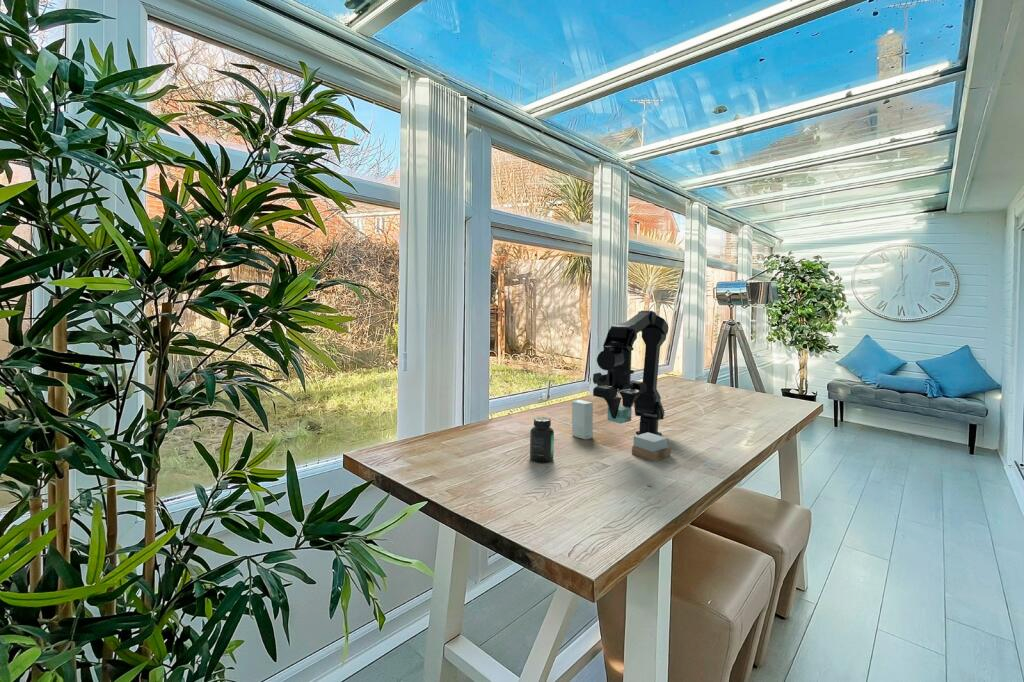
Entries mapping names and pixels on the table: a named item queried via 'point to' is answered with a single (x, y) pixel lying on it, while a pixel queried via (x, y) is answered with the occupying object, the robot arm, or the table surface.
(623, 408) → the teal cube
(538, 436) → the supplement bottle
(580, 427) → the skincare box
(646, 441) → the slate-grey top block
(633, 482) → the table surface
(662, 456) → the walnut base block
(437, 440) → the table surface
